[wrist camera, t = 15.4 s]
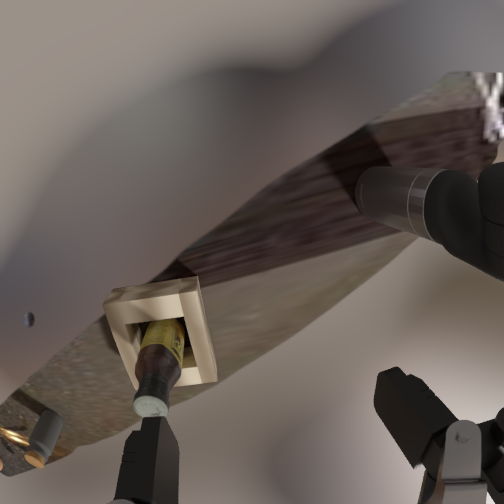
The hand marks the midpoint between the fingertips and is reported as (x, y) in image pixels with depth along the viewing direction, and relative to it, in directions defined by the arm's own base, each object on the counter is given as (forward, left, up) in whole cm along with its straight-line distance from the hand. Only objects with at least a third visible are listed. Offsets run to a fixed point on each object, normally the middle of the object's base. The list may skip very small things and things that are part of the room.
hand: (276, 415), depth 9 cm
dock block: (+12, +15, -36) cm, 40 cm away
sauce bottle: (+12, +15, -36) cm, 40 cm away
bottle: (+48, +37, -36) cm, 70 cm away
